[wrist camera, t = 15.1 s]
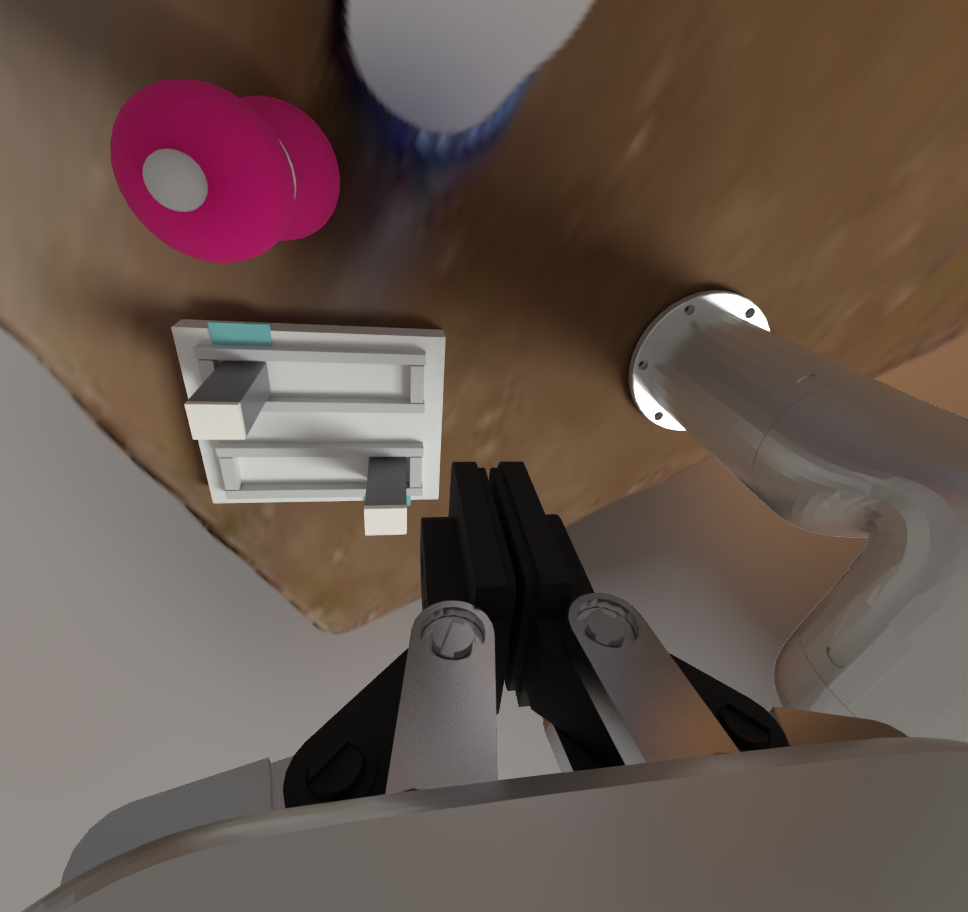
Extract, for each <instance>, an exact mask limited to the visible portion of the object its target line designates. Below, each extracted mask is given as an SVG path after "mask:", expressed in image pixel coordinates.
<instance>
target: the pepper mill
mask: <svg viewBox="0 0 968 912" xmlns="http://www.w3.org/2000/svg"><path fill="white" fill-rule="evenodd" d="M111 162H112V167H113V171H114V175H115V178H116V180H117V183H118V186H119V188H120V191H121V193H122V194H123V196H124V198H125V200H126V202H127V204H128V205H129V207H130V208H131V210H132V211H133V212H134V214H135V215H136V216H137V218H138V219H139V220H140V221H141V222H142V223H143V224H144V226H145V227H146V228H147V229H148V230H149V231H150V232H151V233H152V234H154V235H155V236H156V237H157V238H159V239H160V240H161V241H163V242H164V243H165V244H167V245H168V246H169V247H171V248H174V249H176V250H178V251H180V252H182V253H184V254H186V255H188V256H190V257H193V258H196V259H200V260H203V261H207V262H216V263H232V262H241V261H245V260H249V259H252V258H254V257H256V256H258V255H260V254H263V253H264V252H266V251H267V250H268V249H270V248H271V247H273V246H274V245H275V243H276V242H277V241H289V240H296V239H301V238H304V237H307V236H309V235H311V234H313V233H315V232H316V231H318V230H319V229H320V228H321V227H323V226H324V225H325V224H326V222H327V221H328V220H329V218H330V217H331V215H332V214H333V212H334V210H335V207H336V204H337V201H338V197H339V191H340V175H339V167H338V163H337V160H336V156H335V153H334V151H333V149H332V146H331V144H330V142H329V141H328V139H327V137H326V135H325V134H324V132H323V131H322V130H321V129H320V127H319V126H318V125H317V124H316V123H315V122H314V121H313V120H312V119H311V118H310V117H309V116H308V115H307V114H306V113H305V112H303V111H302V110H301V109H299V108H298V107H296V106H294V105H292V104H290V103H289V102H286V101H283V100H281V99H278V98H275V97H267V96H257V95H256V96H246V97H242V98H239V97H237V96H236V95H234V94H232V93H231V92H229V91H227V90H225V89H223V88H221V87H218V86H216V85H214V84H211V83H207V82H203V81H199V80H192V79H171V80H162V81H159V82H156V83H153V84H151V85H148V86H145V87H144V88H143V89H141V90H140V91H138V92H137V93H136V94H134V95H133V96H132V97H130V99H129V100H128V101H127V102H126V103H125V105H124V106H123V107H122V108H121V109H120V112H119V114H118V116H117V118H116V120H115V122H114V125H113V131H112V137H111Z"/></svg>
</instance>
